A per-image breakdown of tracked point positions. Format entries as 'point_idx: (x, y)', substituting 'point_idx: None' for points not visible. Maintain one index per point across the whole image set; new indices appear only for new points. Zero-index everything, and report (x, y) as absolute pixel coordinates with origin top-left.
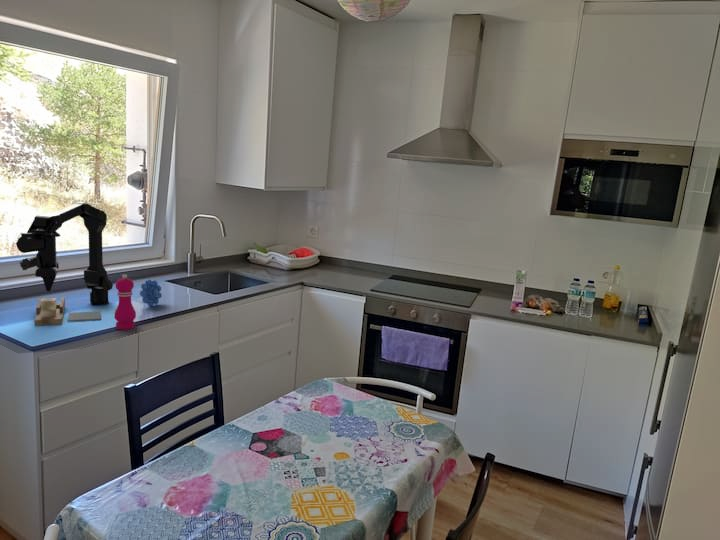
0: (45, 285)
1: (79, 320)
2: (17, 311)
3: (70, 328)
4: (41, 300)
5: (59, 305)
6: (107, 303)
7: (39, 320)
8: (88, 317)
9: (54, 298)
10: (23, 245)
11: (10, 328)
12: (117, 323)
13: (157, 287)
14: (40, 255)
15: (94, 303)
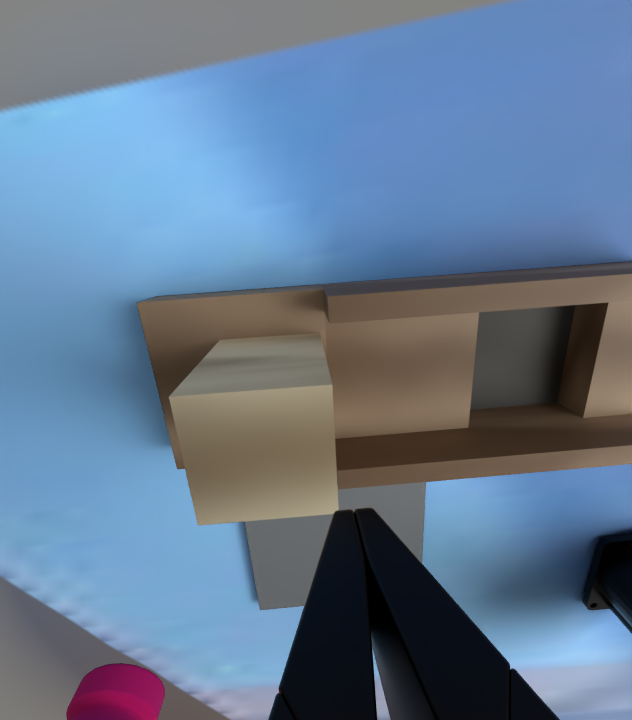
0: (300, 625)
1: (246, 523)
2: (625, 81)
3: (95, 497)
4: (229, 395)
5: (582, 401)
6: (585, 604)
7: (146, 337)
8: (288, 561)
9: (324, 503)
10: None
11: (80, 129)
12: (85, 700)
13: None
14: None
15: (609, 554)
